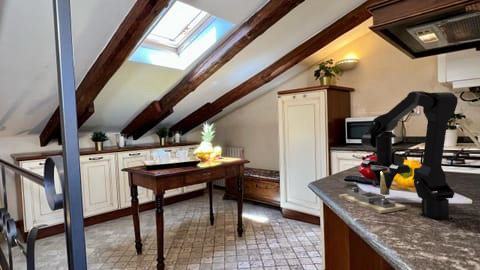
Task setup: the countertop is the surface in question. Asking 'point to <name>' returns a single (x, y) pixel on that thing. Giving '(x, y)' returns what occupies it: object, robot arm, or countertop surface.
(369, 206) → the wooden board
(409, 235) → the countertop surface
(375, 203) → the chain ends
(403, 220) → the countertop surface
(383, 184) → the brass pin
